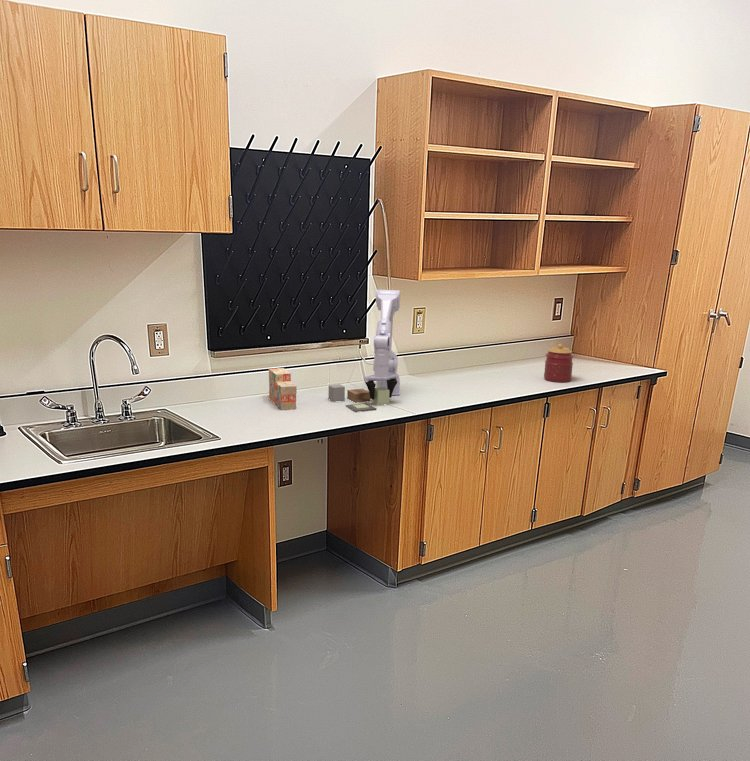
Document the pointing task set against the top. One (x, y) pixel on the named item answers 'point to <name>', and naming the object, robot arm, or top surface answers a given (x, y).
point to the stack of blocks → (282, 388)
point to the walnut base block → (358, 395)
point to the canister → (558, 364)
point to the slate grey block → (336, 393)
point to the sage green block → (381, 396)
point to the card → (360, 407)
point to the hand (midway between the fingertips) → (380, 398)
